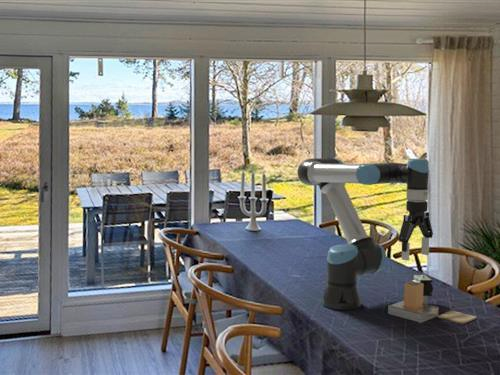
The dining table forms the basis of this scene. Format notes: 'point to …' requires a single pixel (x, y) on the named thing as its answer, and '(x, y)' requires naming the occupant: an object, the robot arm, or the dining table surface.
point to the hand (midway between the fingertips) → (415, 257)
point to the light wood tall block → (413, 295)
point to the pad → (457, 317)
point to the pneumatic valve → (427, 285)
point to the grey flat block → (413, 312)
